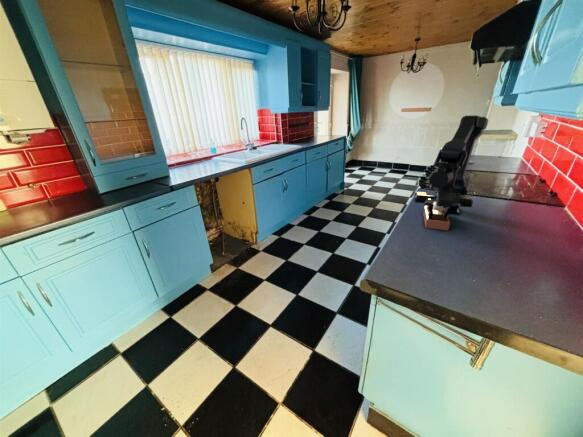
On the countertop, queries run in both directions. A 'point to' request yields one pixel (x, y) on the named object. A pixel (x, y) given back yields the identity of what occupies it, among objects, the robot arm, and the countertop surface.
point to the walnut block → (438, 215)
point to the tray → (435, 221)
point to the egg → (437, 207)
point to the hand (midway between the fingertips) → (437, 219)
